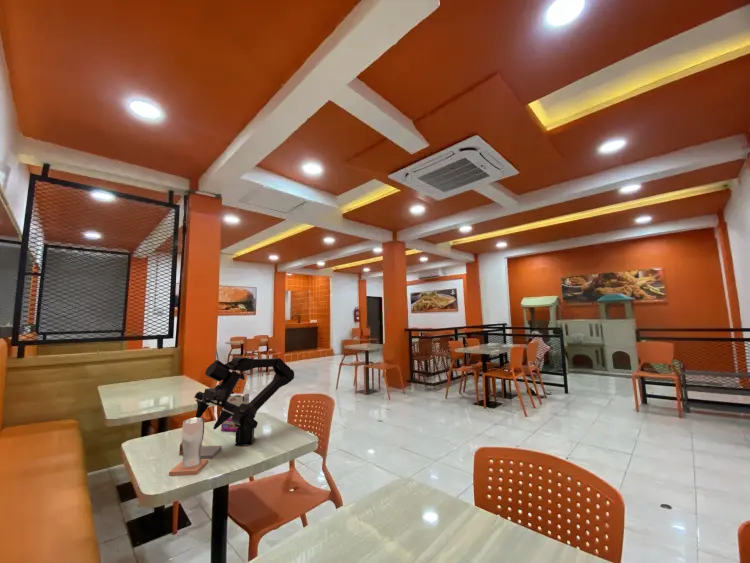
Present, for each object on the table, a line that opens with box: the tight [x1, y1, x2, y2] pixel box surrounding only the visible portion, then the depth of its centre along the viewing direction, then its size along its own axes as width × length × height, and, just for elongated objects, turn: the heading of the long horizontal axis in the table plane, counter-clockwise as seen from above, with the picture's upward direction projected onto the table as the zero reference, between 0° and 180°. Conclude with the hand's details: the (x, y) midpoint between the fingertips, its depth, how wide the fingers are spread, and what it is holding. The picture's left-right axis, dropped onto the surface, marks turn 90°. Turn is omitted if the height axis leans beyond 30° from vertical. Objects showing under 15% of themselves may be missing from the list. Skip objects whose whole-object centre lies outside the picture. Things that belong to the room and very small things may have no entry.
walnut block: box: [178, 441, 183, 456], centre depth 125 cm, size 4×4×4 cm
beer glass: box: [181, 416, 205, 468], centre depth 113 cm, size 7×7×15 cm
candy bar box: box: [220, 392, 250, 433], centre depth 150 cm, size 11×5×16 cm, turn 81°
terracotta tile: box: [168, 459, 210, 477], centre depth 111 cm, size 9×9×1 cm
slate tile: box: [200, 445, 223, 460], centre depth 123 cm, size 9×9×1 cm
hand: (204, 425), depth 122 cm, fingers open, 9 cm apart
